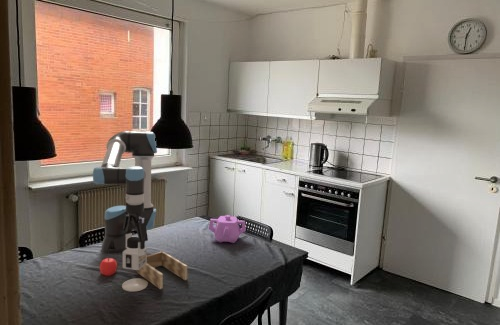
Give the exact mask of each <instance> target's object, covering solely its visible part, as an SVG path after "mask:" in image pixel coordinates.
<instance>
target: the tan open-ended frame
mask: <svg viewBox="0 0 500 325" xmlns="http://www.w3.org/2000/svg"><path fill="white" fill-rule="evenodd" d="M161 266H162V267H163V268H165V269H167V270H168V271H170V272H171V273H172V274H175V275H176V276H178V277H180V278H181V279H183V280H184V281H187V280H188V265H187V264H185V263H183V262H182V261H180V260H178V259H177V258H176V257H174V256H172V255H170V254H168V253H167V252H165V251H164V250H161V251H158V252H154V253H151V254H148V255H147V263H146V264H145V265H144V266H143V267H142V268H141V269H139V270H136V273H137V274H139V275H140V276H141V277H143V279H144V280H146V281H147V282H148V283H151V284H152V285H154V287H156V288H158V289H159V290H162V289H163V283H164V280H163V279H164V277H163V276H164V273H162V272H161V271H159V270H158V269H156V268H158V267H161Z"/></svg>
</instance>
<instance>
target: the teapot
mask: <svg viewBox="0 0 500 325" xmlns="http://www.w3.org/2000/svg"><path fill="white" fill-rule="evenodd" d="M214 223H216V224H215V226H214ZM240 225H241V227H240ZM208 230H209V231H211V232H212V233H214V237H215V238H214V239H215V241H217V243H219V244H221V243H223V242H224V243H231V244H235V243H236V242H237V241H238V240H239V237H240V235H241V234H243V233H245V232H246V220H239V219H238V218H237V217H236V216H231V215H230V214H226V215H220V216H219V217H218V218H210V220H209V226H208Z"/></svg>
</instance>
